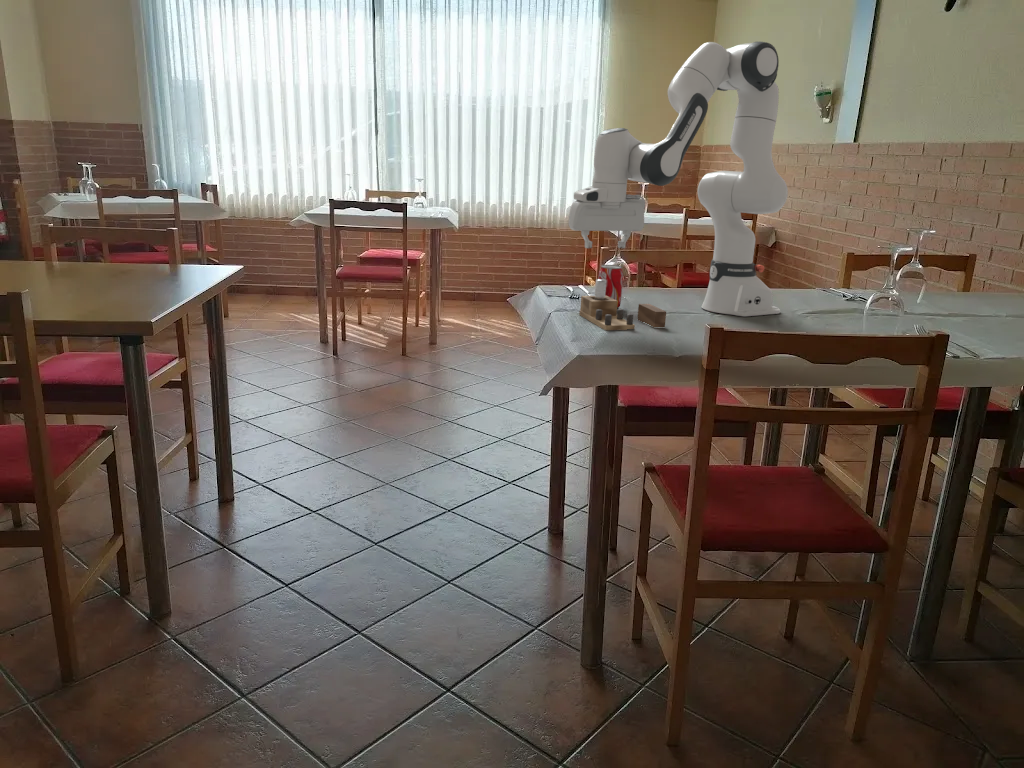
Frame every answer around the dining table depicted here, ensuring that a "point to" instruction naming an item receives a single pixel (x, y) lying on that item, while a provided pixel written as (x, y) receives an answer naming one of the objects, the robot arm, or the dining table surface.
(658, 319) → the bar
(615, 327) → the board
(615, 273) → the soda can
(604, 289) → the pin
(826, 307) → the dining table surface
